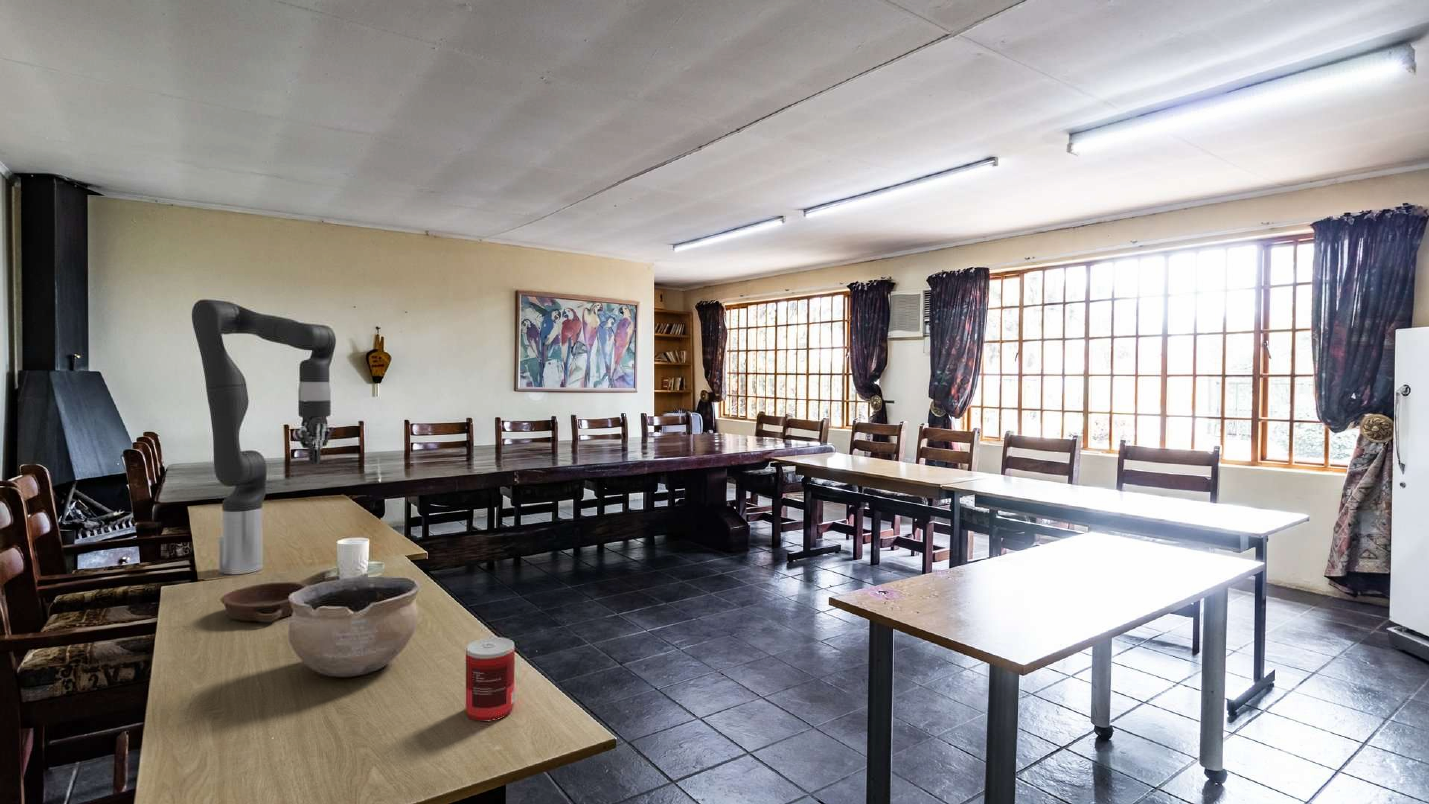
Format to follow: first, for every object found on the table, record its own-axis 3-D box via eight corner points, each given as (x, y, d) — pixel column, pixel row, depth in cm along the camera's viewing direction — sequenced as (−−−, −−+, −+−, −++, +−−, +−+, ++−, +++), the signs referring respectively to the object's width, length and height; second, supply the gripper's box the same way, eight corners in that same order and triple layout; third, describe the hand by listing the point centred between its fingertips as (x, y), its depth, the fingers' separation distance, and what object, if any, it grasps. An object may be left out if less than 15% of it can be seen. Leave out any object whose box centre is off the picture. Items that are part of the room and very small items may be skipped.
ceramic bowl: (269, 698, 120) (269, 611, 120) (306, 650, 141) (306, 576, 141) (410, 685, 126) (410, 602, 126) (425, 641, 147) (426, 569, 146)
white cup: (330, 579, 190) (329, 542, 190) (355, 572, 197) (355, 536, 197) (351, 583, 187) (351, 545, 187) (376, 575, 194) (375, 539, 194)
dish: (217, 635, 149) (217, 612, 149) (223, 606, 168) (223, 585, 167) (313, 621, 158) (313, 599, 158) (308, 595, 177) (308, 575, 177)
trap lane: (281, 596, 175) (281, 584, 174) (340, 571, 198) (339, 560, 198) (331, 599, 173) (331, 586, 173) (384, 572, 197) (384, 562, 197)
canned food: (496, 696, 122) (496, 633, 122) (524, 710, 117) (524, 644, 117) (455, 711, 116) (455, 645, 116) (483, 727, 111) (483, 658, 111)
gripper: (317, 398, 197) (317, 460, 197) (284, 399, 183) (284, 466, 184) (343, 398, 196) (343, 461, 196) (311, 399, 183) (312, 466, 183)
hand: (314, 463), depth 190 cm, fingers closed
